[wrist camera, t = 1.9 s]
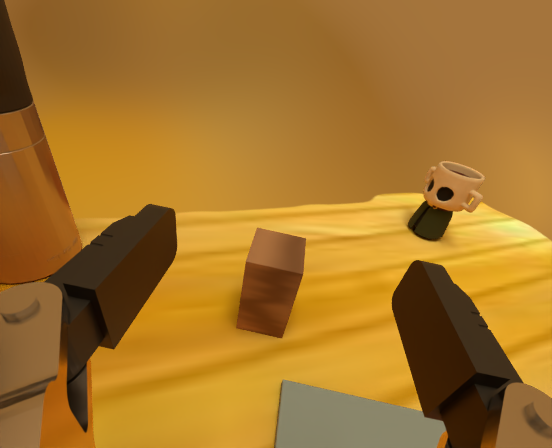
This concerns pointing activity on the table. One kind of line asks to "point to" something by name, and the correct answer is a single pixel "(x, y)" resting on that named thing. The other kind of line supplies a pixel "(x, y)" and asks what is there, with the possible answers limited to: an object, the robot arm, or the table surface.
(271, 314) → the walnut block
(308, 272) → the table surface
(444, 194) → the character mug
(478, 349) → the robot arm
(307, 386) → the slate-blue mat
